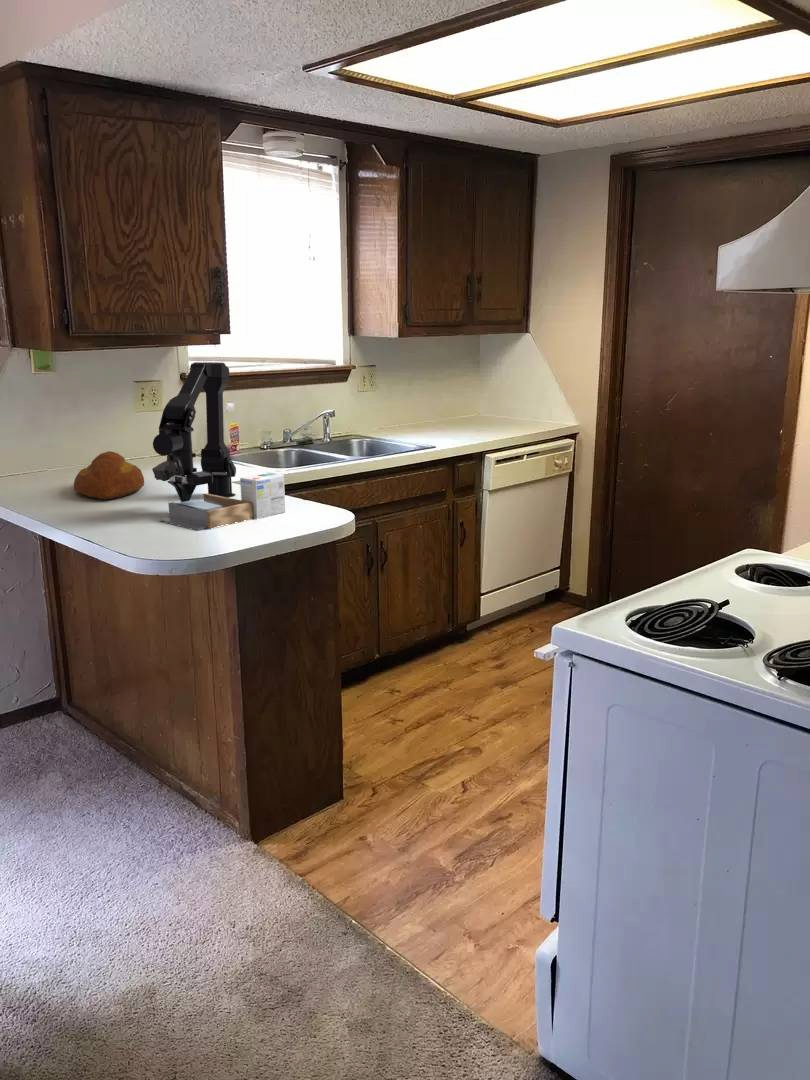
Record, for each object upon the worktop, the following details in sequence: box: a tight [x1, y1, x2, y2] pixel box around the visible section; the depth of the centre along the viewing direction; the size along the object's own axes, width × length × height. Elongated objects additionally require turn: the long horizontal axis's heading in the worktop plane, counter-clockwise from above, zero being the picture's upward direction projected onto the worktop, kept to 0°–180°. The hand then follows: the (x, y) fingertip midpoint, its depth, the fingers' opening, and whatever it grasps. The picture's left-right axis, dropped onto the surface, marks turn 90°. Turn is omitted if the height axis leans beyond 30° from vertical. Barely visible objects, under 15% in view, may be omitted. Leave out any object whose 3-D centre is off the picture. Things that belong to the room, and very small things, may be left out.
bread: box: [73, 450, 145, 501], centre depth 265 cm, size 21×33×12 cm, turn 11°
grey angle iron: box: [159, 501, 210, 531], centre depth 224 cm, size 4×16×4 cm, turn 51°
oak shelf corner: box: [202, 492, 254, 529], centre depth 231 cm, size 14×19×4 cm
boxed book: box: [177, 499, 222, 510], centre depth 232 cm, size 8×12×4 cm
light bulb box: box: [239, 472, 286, 519], centre depth 235 cm, size 11×7×11 cm, turn 141°
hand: (185, 506), depth 237 cm, fingers closed
